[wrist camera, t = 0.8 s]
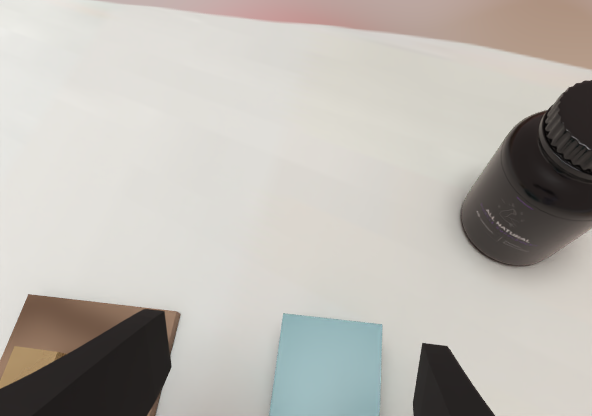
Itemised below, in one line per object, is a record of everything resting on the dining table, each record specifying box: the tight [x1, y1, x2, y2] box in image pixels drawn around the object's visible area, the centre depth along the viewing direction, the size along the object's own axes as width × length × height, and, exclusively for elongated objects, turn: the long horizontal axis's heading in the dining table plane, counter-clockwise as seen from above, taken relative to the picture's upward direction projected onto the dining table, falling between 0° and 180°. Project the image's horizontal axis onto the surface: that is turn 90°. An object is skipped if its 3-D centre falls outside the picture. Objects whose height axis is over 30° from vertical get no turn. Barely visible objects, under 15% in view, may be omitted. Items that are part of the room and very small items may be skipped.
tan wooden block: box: [0, 346, 66, 388], centre depth 24 cm, size 3×3×5 cm
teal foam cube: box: [269, 313, 382, 416], centre depth 23 cm, size 5×5×6 cm
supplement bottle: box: [462, 80, 592, 265], centre depth 24 cm, size 7×7×12 cm
